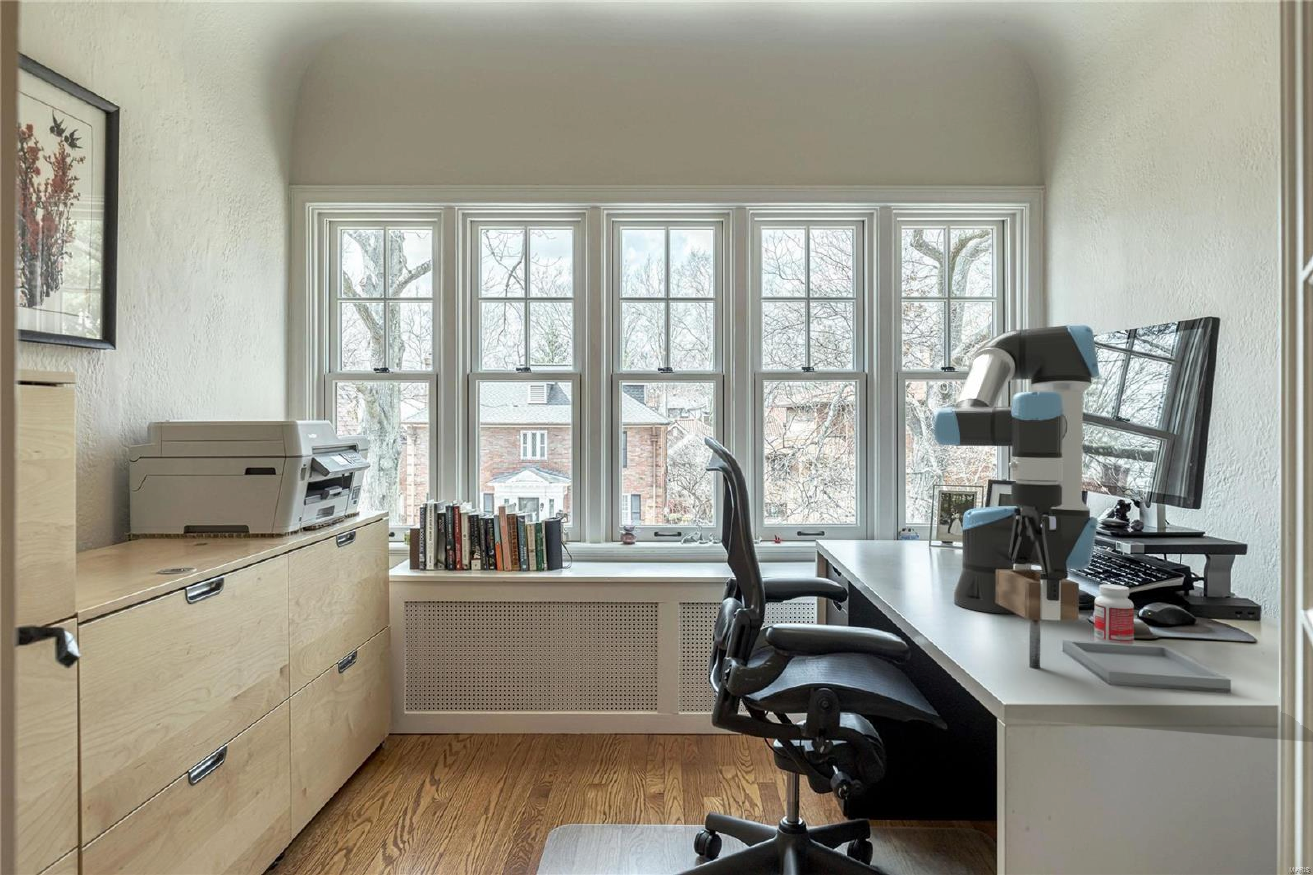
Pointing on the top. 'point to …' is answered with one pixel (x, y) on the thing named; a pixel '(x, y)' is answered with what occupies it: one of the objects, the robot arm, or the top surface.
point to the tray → (1145, 666)
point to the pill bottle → (1114, 615)
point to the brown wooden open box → (1033, 594)
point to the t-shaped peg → (1034, 644)
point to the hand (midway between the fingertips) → (1035, 609)
